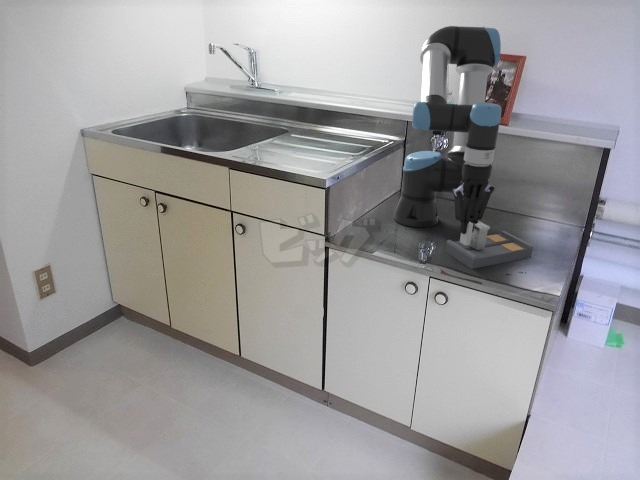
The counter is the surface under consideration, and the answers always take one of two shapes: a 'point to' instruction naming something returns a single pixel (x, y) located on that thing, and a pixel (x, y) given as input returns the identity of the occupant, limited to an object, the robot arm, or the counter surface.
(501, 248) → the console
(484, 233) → the fader knob
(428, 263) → the counter surface
